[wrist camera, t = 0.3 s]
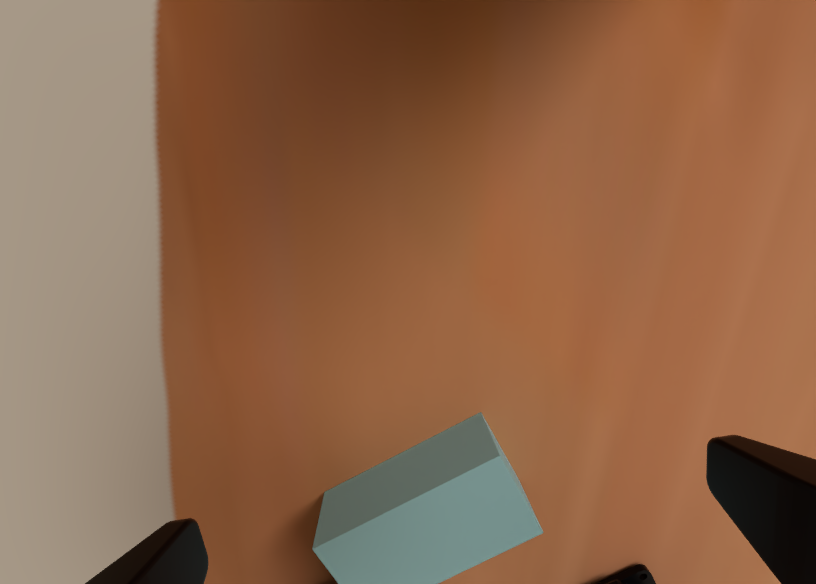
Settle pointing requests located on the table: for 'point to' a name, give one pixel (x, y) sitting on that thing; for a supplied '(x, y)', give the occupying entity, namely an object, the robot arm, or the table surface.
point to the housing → (426, 512)
